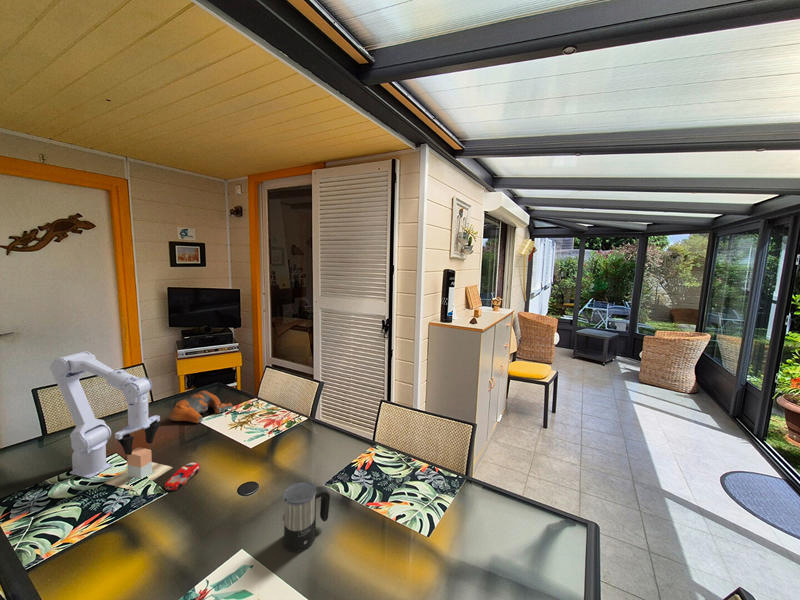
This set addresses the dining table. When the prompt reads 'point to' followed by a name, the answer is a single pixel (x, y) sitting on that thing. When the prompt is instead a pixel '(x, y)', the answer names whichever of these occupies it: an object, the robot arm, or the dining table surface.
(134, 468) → the light grey block
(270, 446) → the dining table surface
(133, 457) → the terracotta block
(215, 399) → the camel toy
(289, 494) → the milk frother
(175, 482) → the race car
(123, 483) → the plate
